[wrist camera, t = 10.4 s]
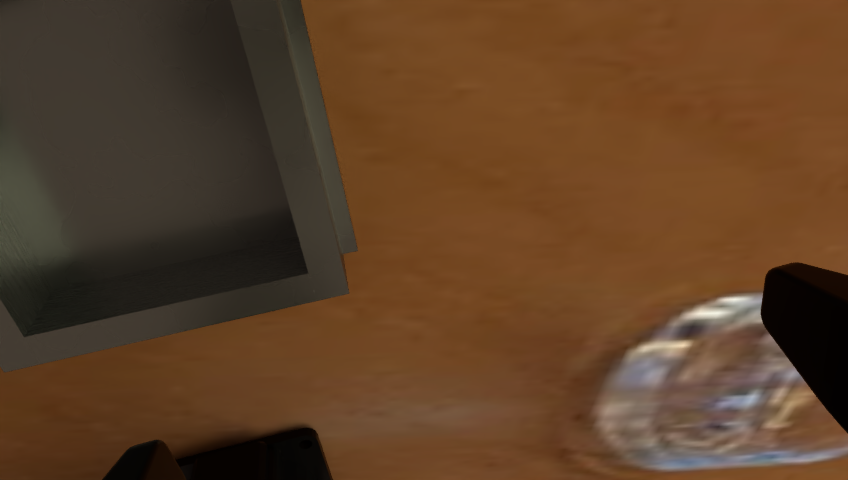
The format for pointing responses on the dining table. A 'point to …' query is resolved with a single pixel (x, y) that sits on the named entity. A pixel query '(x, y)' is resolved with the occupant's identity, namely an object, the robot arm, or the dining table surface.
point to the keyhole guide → (160, 171)
